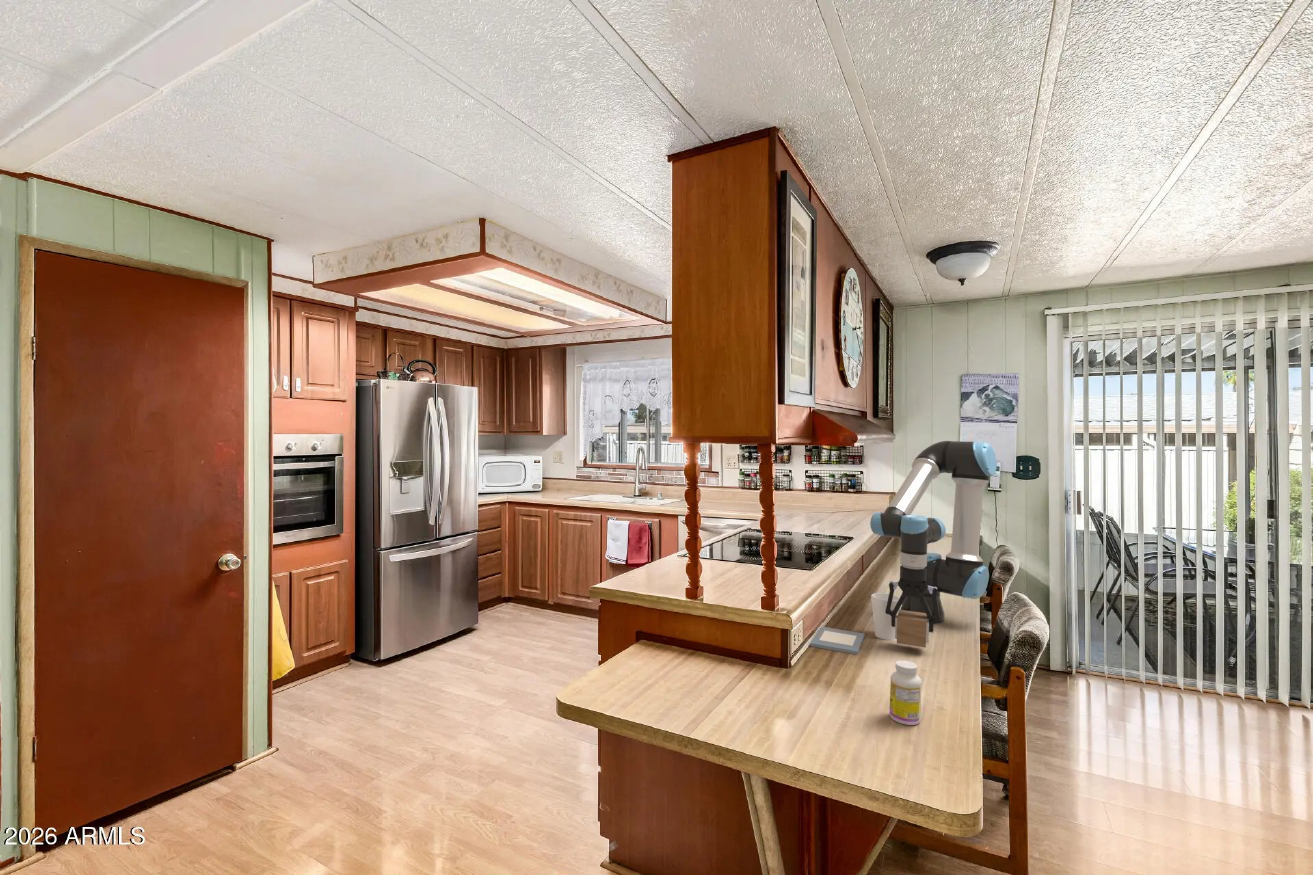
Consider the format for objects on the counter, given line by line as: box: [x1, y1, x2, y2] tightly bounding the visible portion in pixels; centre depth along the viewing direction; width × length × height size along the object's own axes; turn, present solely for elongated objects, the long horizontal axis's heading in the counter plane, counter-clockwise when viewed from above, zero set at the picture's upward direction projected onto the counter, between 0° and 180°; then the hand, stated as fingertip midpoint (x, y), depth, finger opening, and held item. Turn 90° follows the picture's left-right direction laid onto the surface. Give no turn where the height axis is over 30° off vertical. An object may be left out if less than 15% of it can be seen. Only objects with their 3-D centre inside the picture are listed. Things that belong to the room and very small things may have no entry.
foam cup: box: [870, 592, 902, 641], centre depth 195 cm, size 10×9×13 cm
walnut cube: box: [896, 610, 927, 649], centre depth 183 cm, size 8×8×8 cm
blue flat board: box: [809, 626, 866, 655], centre depth 189 cm, size 18×14×1 cm
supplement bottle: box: [889, 660, 923, 726], centre depth 138 cm, size 7×7×13 cm
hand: (911, 639), depth 183 cm, fingers closed on walnut cube, 8 cm apart
